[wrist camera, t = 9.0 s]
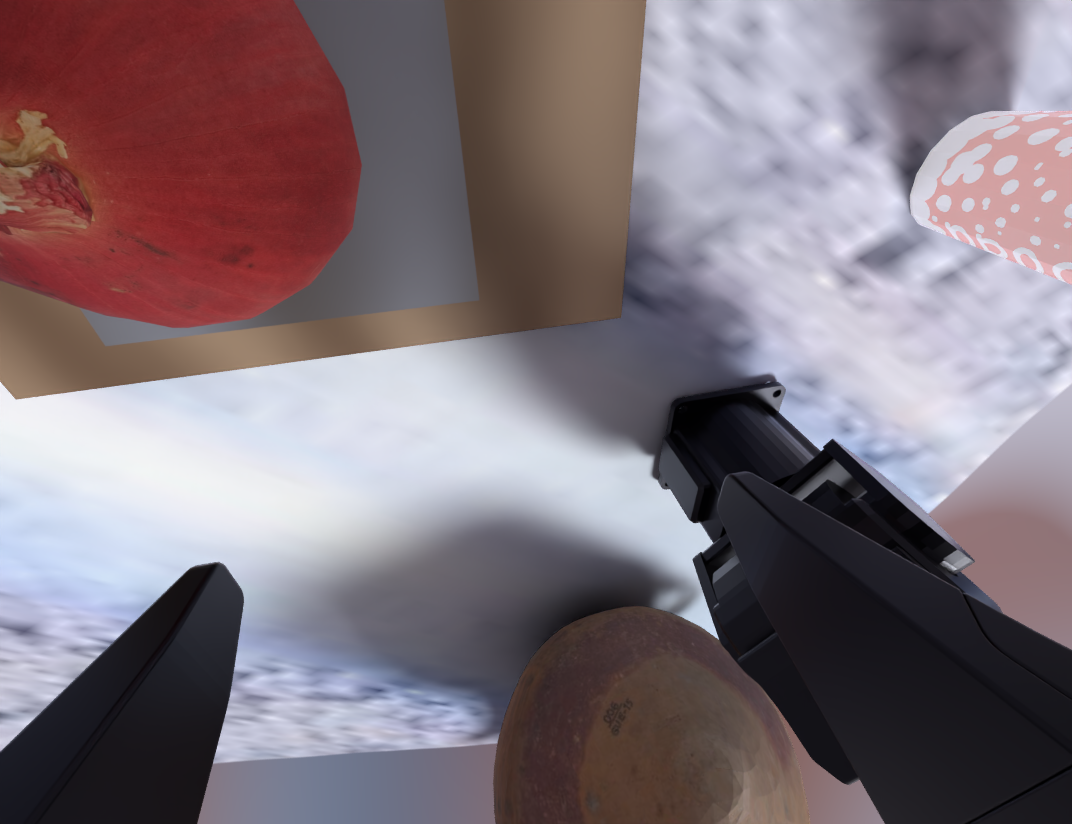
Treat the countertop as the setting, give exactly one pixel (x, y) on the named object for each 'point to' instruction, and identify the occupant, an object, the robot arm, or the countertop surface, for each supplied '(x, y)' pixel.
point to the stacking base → (513, 199)
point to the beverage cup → (1003, 188)
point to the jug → (643, 731)
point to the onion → (170, 156)
